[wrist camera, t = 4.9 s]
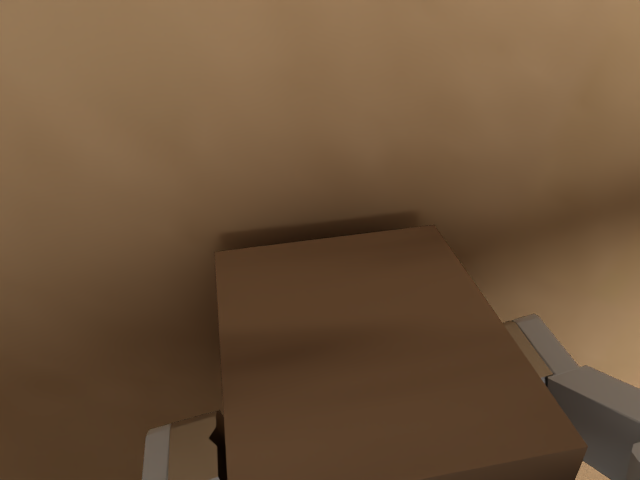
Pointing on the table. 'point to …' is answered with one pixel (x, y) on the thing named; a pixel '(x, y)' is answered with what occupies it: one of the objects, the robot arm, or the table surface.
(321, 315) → the walnut block
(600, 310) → the table surface
